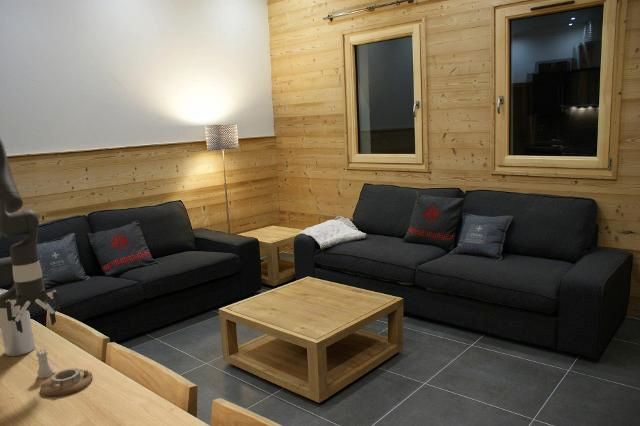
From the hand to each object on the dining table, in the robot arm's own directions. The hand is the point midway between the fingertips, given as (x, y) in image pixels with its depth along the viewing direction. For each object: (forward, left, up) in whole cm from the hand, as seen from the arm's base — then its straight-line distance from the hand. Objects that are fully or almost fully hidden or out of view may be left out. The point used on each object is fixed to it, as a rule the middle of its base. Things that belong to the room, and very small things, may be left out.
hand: (37, 328), depth 164 cm
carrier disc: (+11, +5, -16) cm, 20 cm away
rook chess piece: (0, 0, -16) cm, 16 cm away
